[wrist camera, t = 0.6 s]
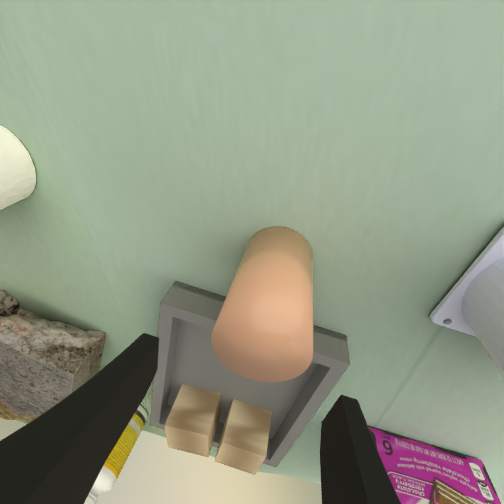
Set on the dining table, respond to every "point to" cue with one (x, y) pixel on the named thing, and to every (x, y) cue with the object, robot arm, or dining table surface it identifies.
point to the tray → (230, 383)
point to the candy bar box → (432, 473)
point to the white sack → (14, 170)
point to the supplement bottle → (118, 456)
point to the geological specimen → (41, 360)
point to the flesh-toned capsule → (269, 309)
